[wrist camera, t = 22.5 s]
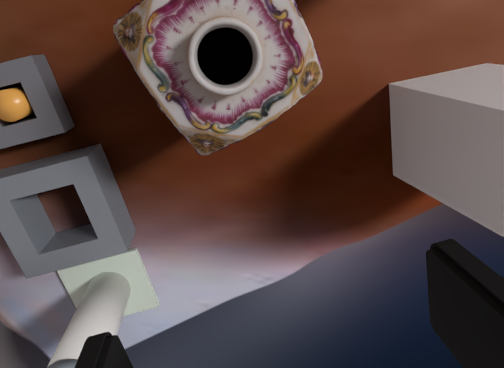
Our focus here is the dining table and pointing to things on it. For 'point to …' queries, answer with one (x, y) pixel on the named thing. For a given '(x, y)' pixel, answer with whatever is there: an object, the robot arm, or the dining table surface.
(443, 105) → the milk
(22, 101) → the release plunger
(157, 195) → the dining table surface
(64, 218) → the dining table surface
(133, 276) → the mat
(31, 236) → the grey square holder
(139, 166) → the dining table surface
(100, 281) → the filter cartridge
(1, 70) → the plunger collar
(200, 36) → the decorative jar
